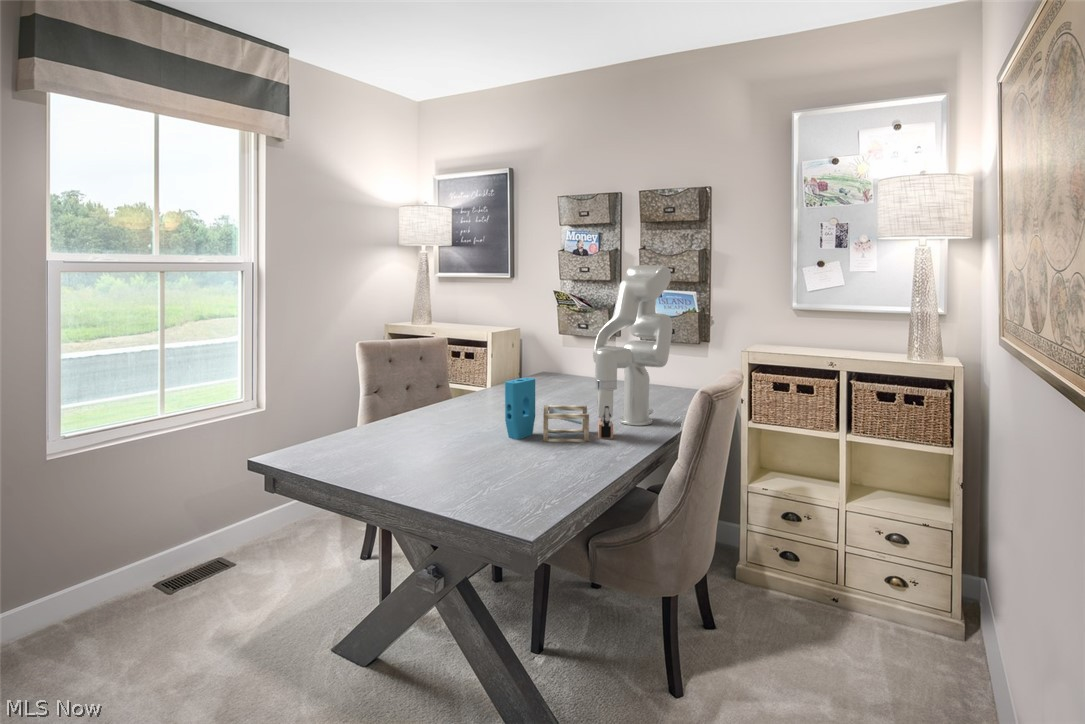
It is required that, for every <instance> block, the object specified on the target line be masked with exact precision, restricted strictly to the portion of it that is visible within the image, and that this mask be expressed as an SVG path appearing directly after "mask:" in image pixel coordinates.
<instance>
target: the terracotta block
mask: <svg viewBox="0 0 1085 724" xmlns="http://www.w3.org/2000/svg"><path fill="white" fill-rule="evenodd" d="M601 426H602V421H601V420H599V421H597V437H598V439H603V438H602V437H601ZM610 426H611V437H610V438H609V439H613V438H614V424H613V421H611V420H610Z"/></svg>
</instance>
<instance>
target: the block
mask: <svg viewBox="0 0 1085 724" xmlns="http://www.w3.org/2000/svg"><path fill="white" fill-rule="evenodd" d="M504 421H505V426H506V430H507V432H506V433H507V436H508V438H509V439H514V440H522V439H525V438H527V437H530V436H533V433H534V427H535V421H536V378H532V377H522V378H515V379H511V380H506V381H504Z"/></svg>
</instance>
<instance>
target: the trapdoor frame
mask: <svg viewBox="0 0 1085 724" xmlns="http://www.w3.org/2000/svg"><path fill="white" fill-rule="evenodd" d="M551 407H553V409H557V410H561V411H565V412H568V411H572V412H573V411H574V412H575V411H577V412H579V411H581V412H582V413H573V414H549V409H550V408H551ZM561 419H581V420H582V426H581V427H582V429H561V428H560V429H559V428H558V429H554V428H553V429H549V420H561ZM542 425H543V431H542V432H543V442H550V443H551V442H552V443H553V442H557V443H559V442H560V443H565V442H567V443H569V442H570V443H574V442H576V443H581V442H582V443H587V442H590V440H589V439H590V437H589V436H590V414H589V413H588V405H543V424H542ZM549 433H583V438H549Z"/></svg>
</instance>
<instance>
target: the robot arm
mask: <svg viewBox="0 0 1085 724" xmlns="http://www.w3.org/2000/svg"><path fill="white" fill-rule="evenodd" d="M671 279H672V273H671V270H670V269H669V267H668V266H667V265H659V264H658V265H657V264H656V265H655V264H654V265H639V264H638V265H632V266H630V267H628V268H627V269H626V271H625V278H624V279H623V280H621V281H620V283H619V286H618V291H617V293H616V300H615V306H614V308H613V314H612V317H611V318H610V320H608V321H607V322H606V323H605V324H604V325H603V326H602V328H601V329H599V332H598V333H597V336H596V337H595V342H594V347H593V351H592V358H593V362H594V364H595V373H594V374H595V379H594V380H595V382H594V389H596V390H597V399H596V400H597V402H596V405H597V406H596V414H597V417H598V418H599V419H600V421H602V426H601V437H602V438H601V439H611V438H610V437H611V426H610V421H611V419H612V418H613V414H614V413H613V411H614V391H615V390H617V387H618V386H617V385H618V369H624V380H623V382H624V384H623V385H624V386H623V388H624V389H623V390H624V391H623V392H624V393H623V416H621V417H619V422H620V423H621V424H624V425H627V426H637V427H638V426H639V427H640V426H648V425H651V424H653V419H652V417H650V415H652V414H654V409H652V408H650V381H651V380H650V376H649V372H648V370H647V369H646V367H649V368H664V367H665V366H666V365H667V363H668V360H669V357H670V356H669V355H670V349H671V343H672V335H673V321H672V319H671V317H670V315H669V314H666V313H660V312H659V313H658V312H657V313H656V307H657V306H656V305H657V300H658V298H660V296H661V295H662V294H663V293H664V291H665V290H666V289H667V288H668V286H669V285H670V283H671ZM628 327H629V330H630V334H631V335H632V336H633V337H636V338H643V339H644V338H645V339H655V341H648V340H630V341H626V343H625V344H624V345H623V346H616V345H615V346H613V345H612V346H611V345H608V342H609V340H610V338H611V337H612V336H613V335H615V334H616V333H617V332H619V331H621V330H623V329H626V328H628ZM649 408H650V409H649Z"/></svg>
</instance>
